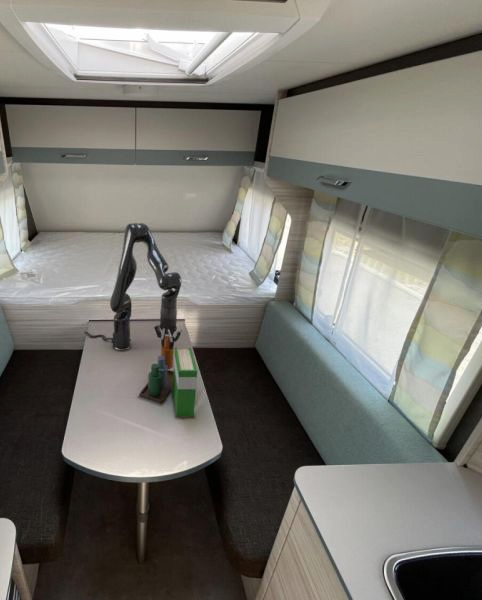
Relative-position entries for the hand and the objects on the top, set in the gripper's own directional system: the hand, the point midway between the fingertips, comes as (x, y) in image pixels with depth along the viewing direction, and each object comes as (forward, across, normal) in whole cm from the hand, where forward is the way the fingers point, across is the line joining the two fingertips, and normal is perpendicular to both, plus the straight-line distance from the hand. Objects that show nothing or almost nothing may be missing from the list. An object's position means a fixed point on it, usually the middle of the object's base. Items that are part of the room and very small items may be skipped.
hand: (167, 346), depth 157 cm
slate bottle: (+18, 0, +7) cm, 20 cm away
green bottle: (+18, 0, +14) cm, 23 cm away
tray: (+19, 0, +7) cm, 20 cm away
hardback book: (+19, -14, +13) cm, 27 cm away
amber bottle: (+11, 0, 0) cm, 11 cm away
